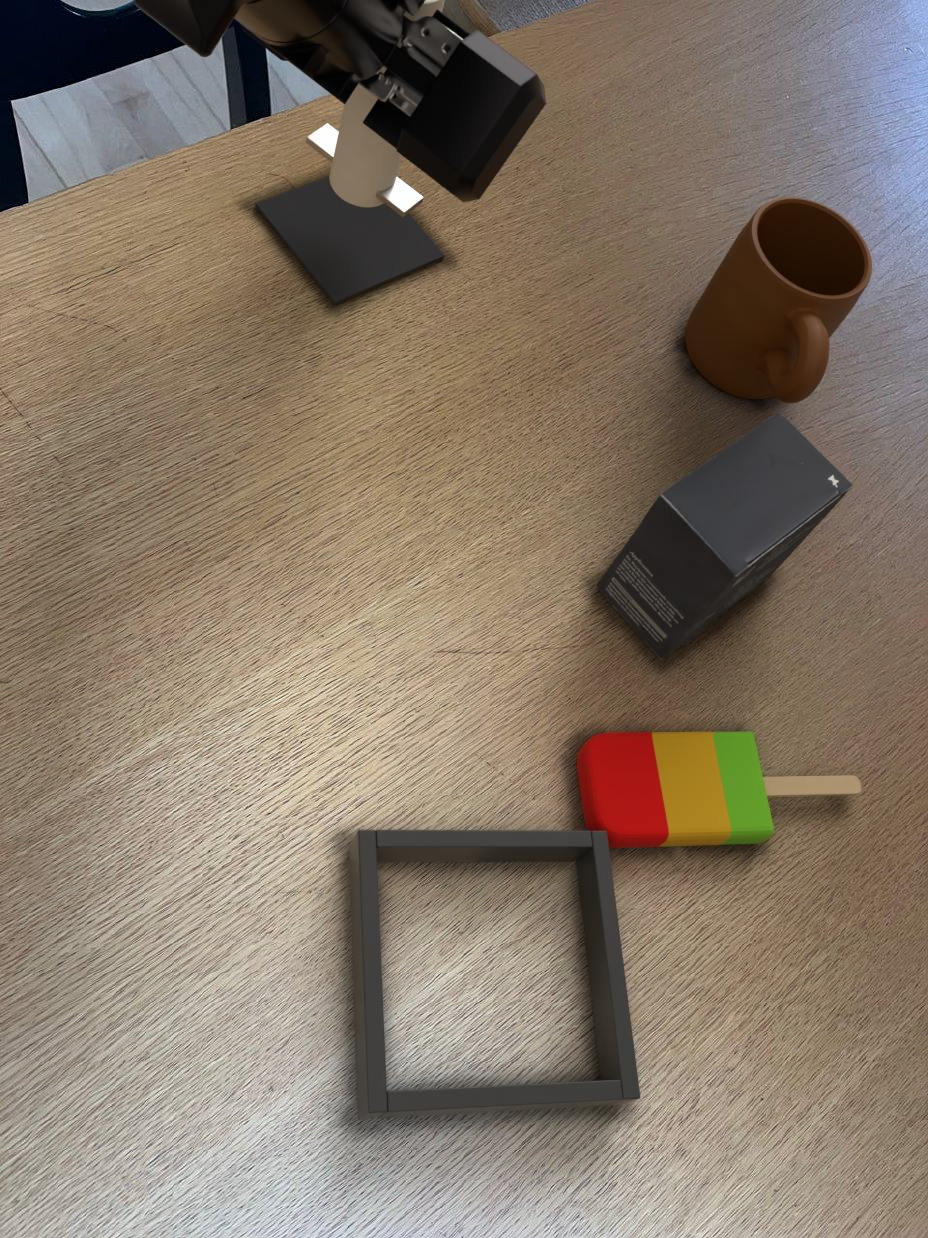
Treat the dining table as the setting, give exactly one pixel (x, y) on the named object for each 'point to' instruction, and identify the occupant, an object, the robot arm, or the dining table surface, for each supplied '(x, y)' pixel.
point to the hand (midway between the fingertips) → (400, 76)
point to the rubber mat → (347, 239)
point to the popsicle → (686, 788)
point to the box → (721, 533)
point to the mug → (778, 301)
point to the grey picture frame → (601, 959)
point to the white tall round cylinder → (367, 150)
